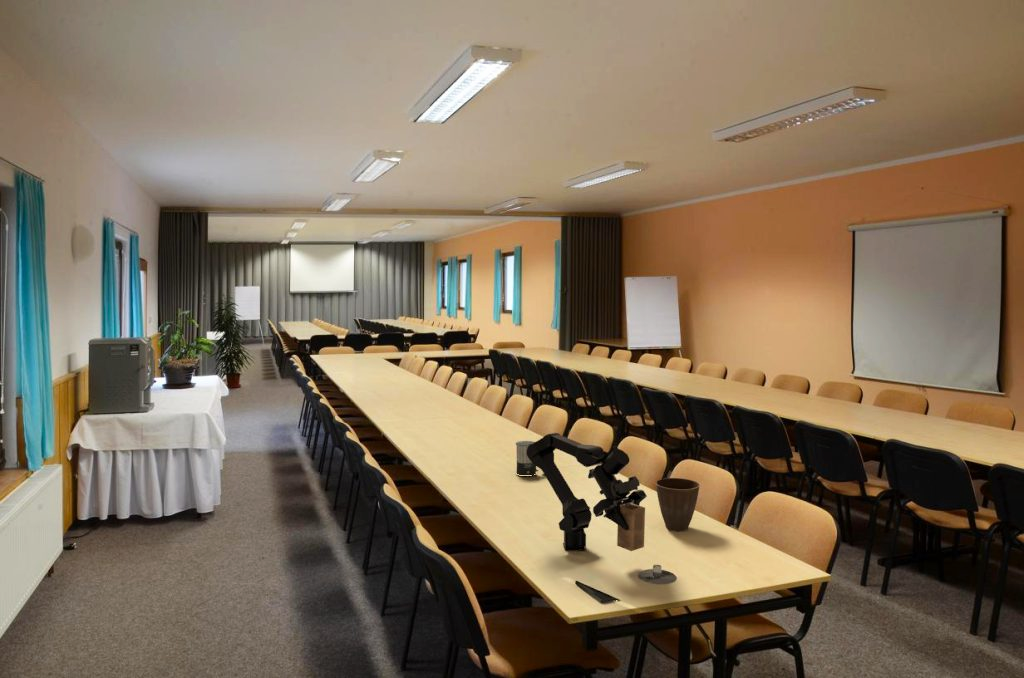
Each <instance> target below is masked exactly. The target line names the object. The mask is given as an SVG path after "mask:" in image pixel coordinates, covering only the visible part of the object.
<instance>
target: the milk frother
mask: <svg viewBox="0 0 1024 678" xmlns="http://www.w3.org/2000/svg"><path fill="white" fill-rule="evenodd" d="M535 442H536V441H533V440H520V441H517V442H515V445H516V473H517V474H519V475H534V474H536V475H537V466H535V465H534V464H533V463H532V462H531V461H530V459H529V458H528V456H527V448H528V446H529V445H530V444H533V443H535Z"/></svg>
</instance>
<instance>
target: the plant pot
mask: <svg viewBox="0 0 1024 678" xmlns="http://www.w3.org/2000/svg"><path fill="white" fill-rule="evenodd" d="M655 488H656V493H657V494H656V495H657V501H658V504H659V508H660V513H661V517H662V521H663V522H664V525H665V528H666V529H667V530H668V531H669V530H670V531H673V532H685V531H687V530H688V529H689V527H690V524H691V521H692V519H693V515H694V514H695V511H696V510H695V509H696V506H697V502H698V496H699V490H700V483H698V482H697V481H695V480H692V479H687V478H681V477H679V478H678V477H665V478H662V479H658V480H657V481H655Z"/></svg>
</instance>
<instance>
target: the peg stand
mask: <svg viewBox="0 0 1024 678" xmlns="http://www.w3.org/2000/svg"><path fill="white" fill-rule="evenodd" d="M637 578H638V579H639V580H641V581H642V582H645V583H648V584H653V585H669V584H672V583H675V582H676V581H677V576H676V575H675V574H674V573H672V572H671V571H668V570H664V569H662V565H660V564H653V565H652V568H647V569H643V570H640V571H639V572H638V573H637Z"/></svg>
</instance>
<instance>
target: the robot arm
mask: <svg viewBox="0 0 1024 678" xmlns="http://www.w3.org/2000/svg"><path fill="white" fill-rule="evenodd" d="M534 442H535V443H533V444H530V445H529V446H528V448H527V456H528V458H529V459H530V461H531V462H532V463H533V464H534V465H535V466H536V468H538V469H539V470H541V472H542V473H543V475H544V476H545V478H546V480H547V482H548V483H549V484H550V486H551V488H552V491H554V493H555V496H556V497H557V498H558V500H559V502H560V503H561V505H562V511H561V512H562V516H563V518H562V519H561V520H560V521H559V522H558V528H559V530H560V531H563V542H562V546H563V549H564V550H565V551H567V552H569V551H570V552H571V551H586V547H587V534H586V532H585V529H588V528H589V526H590V523H591V521H592V516H593V515H592V514H594V516H595V518H597V517H601V516H603V518H607V520H610V521H611V522H613V523H615V524H616V525H617V526H618V525H619V526H620V527H622V528H623V529H625V530H626V531H627V530H629V527H628V525H627V523H626V521H625V519H624V517H623V515H622V513H621V510H620V506H621V505H625V504H629V503H632V504H636V505H639V506H640V504H641V502H642V501H644V500H645V499H646V497H648V496H647V494H646V492H645V490H643V489H639V488H638V487H640V483H641V482H640V481H639V479H638V477H637V476H636V475H634V476H631V477H628V479H627V480H626V481H623V480H621V479H617V477H616V476H615V475H618V474H619V473H620V472H621V471H623V469H624V468H626V467H627V466H628V464H630V457H629V454H628V453H626V452H625V451H624V450H622V449H620V448H619V447H618V446H617V445H616V446H611V448H609V450H608V451H606V450H604V448H602V447H601V446H599V445H595V444H582V443H580V442H578V441H576V440H573V439H571V438H568V437H566V436H563V435H561V434H560V433H559V432H551V433H548V434H545V435H544V436H543V437H542V438H540V439H538V440H536V441H534ZM555 450H558V451H561V452H563V453H565V454H567V455H570V456H572V457H574V458H575V459H576V461H577V462H578V463H579V464H580V465H582V466H583V467H586V468H589V467H590V469H589V471H588V475H587V478H588V479H593V478H594V479H595V482H596V483H597V485H598V487H599V488H600V491H599V494H600V495H604V497H605V498H604V499H603V498H602V499H601V500H599V501H598V502H597V503H596V504H595V505H594V506H593V507H592V512H593V513H592V512H591V507H590V506H589V505H588V503H587V501H586V499H584V498H580V499H579V498H578V497H576V496H575V494H574V493H573V490H572V489H571V488H570V486H569V484H568V482H567V481H566V479H565V478H564V476H563V474H562V472H561V471H560V469H559V468H558V466H557V464H556V462H555V452H554V451H555ZM594 466H595V467H594ZM591 467H594V468H591Z"/></svg>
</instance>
